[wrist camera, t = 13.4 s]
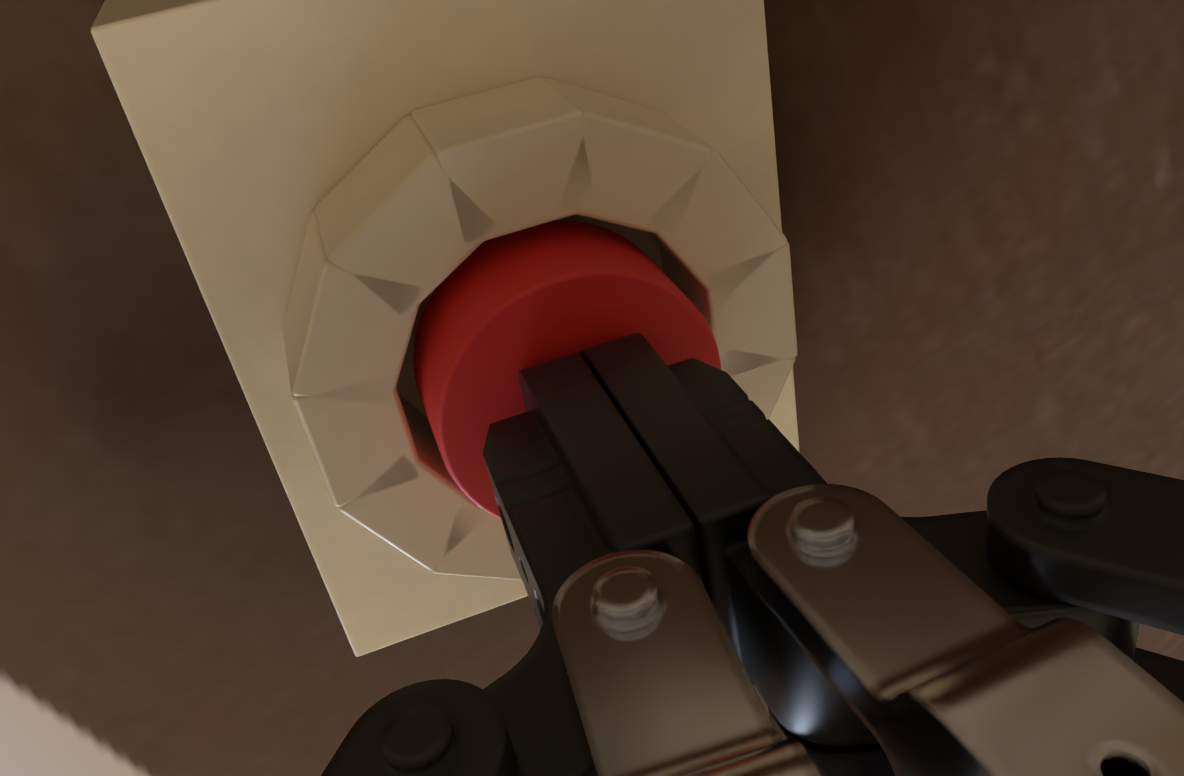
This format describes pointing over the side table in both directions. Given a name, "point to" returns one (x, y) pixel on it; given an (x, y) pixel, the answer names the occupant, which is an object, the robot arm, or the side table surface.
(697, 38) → the control block
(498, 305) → the button
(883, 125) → the side table surface
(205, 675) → the side table surface
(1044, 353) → the side table surface
